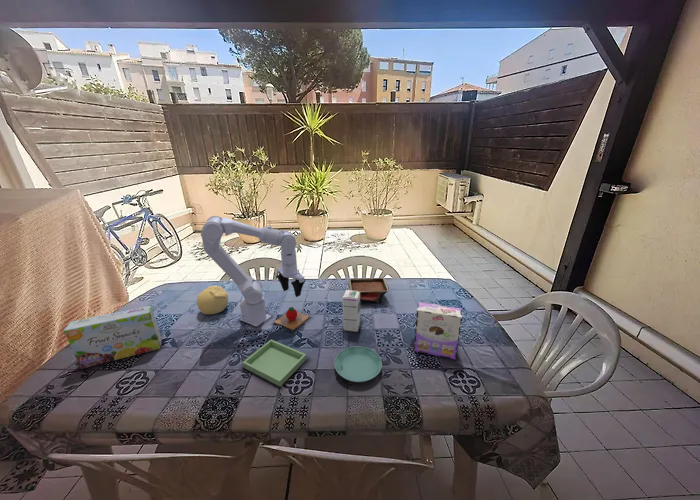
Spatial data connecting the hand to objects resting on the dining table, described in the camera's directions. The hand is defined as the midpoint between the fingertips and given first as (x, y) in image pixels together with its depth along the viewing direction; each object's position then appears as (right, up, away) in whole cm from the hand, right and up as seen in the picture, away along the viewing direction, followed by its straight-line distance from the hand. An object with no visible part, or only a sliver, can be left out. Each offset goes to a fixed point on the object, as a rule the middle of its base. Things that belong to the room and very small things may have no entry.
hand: (291, 292), depth 111 cm
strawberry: (+1, -10, -2) cm, 10 cm away
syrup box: (+24, -12, -6) cm, 28 cm away
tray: (0, -19, -24) cm, 31 cm away
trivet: (0, -11, -2) cm, 11 cm away
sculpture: (-34, -8, +5) cm, 36 cm away
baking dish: (+32, -5, +15) cm, 36 cm away
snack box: (-52, -18, -20) cm, 59 cm away
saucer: (+26, -20, -26) cm, 42 cm away
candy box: (+53, -17, -18) cm, 58 cm away
